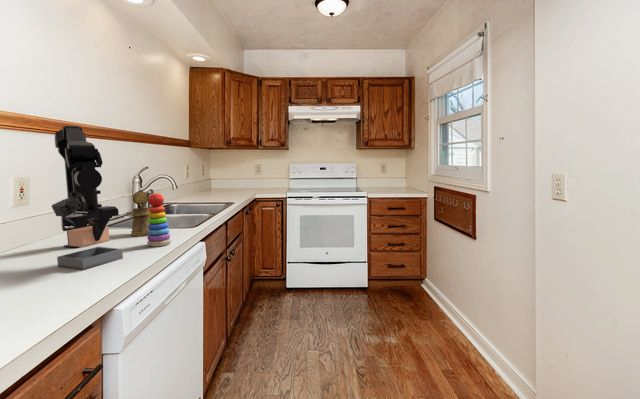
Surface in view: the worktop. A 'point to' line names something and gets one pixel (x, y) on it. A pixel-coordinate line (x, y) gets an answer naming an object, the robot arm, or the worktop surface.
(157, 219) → the stacking toy
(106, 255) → the tray
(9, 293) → the worktop surface
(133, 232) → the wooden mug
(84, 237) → the salmon orange block
